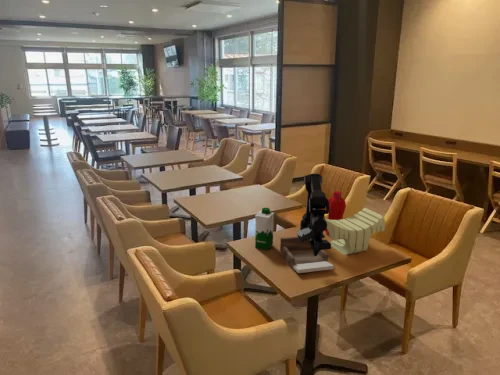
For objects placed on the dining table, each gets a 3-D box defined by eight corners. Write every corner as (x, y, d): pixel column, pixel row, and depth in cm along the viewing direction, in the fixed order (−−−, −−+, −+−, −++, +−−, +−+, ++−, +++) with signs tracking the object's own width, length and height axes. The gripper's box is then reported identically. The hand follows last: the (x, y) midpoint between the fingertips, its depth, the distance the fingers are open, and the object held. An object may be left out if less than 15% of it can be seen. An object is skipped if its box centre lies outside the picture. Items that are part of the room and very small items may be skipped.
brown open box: (280, 252, 190) (280, 238, 188) (313, 249, 194) (314, 234, 192) (291, 268, 174) (292, 252, 172) (327, 264, 178) (328, 248, 176)
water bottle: (331, 239, 206) (334, 195, 199) (323, 231, 216) (325, 189, 209) (347, 237, 208) (350, 194, 201) (337, 230, 218) (341, 188, 211)
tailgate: (292, 264, 174) (298, 269, 167) (327, 261, 177) (333, 265, 171) (292, 268, 174) (298, 273, 167) (327, 264, 178) (333, 268, 171)
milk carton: (274, 244, 199) (275, 208, 194) (268, 251, 191) (269, 214, 186) (259, 241, 203) (259, 206, 197) (252, 248, 195) (253, 211, 189)
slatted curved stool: (333, 260, 183) (336, 226, 178) (315, 247, 197) (317, 215, 192) (382, 249, 194) (386, 217, 189) (361, 238, 208) (364, 207, 203)
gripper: (292, 217, 172) (291, 248, 176) (307, 233, 154) (305, 267, 159) (315, 215, 174) (313, 246, 178) (332, 230, 157) (330, 264, 161)
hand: (315, 255), depth 169 cm, fingers closed
